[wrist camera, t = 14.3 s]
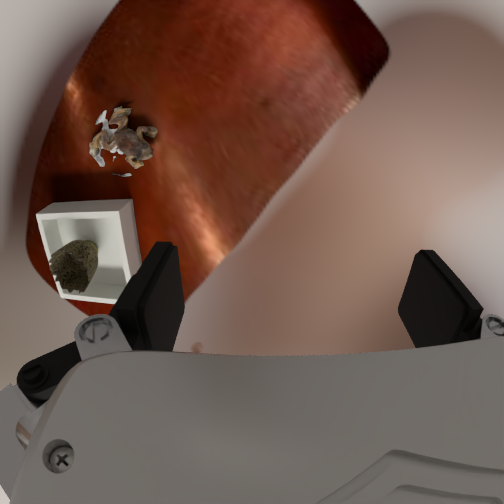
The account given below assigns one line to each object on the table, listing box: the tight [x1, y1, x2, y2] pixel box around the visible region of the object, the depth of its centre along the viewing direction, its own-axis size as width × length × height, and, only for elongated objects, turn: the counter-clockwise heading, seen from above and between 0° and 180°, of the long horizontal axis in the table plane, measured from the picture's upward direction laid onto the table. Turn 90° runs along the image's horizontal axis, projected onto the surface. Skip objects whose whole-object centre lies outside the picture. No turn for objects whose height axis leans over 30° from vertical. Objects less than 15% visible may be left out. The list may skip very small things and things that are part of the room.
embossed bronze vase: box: [49, 240, 98, 293], centre depth 41 cm, size 8×7×8 cm
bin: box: [36, 199, 142, 304], centre depth 43 cm, size 16×16×5 cm
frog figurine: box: [89, 106, 157, 177], centre depth 36 cm, size 12×12×4 cm
